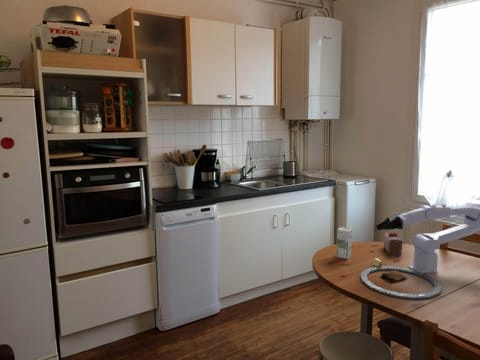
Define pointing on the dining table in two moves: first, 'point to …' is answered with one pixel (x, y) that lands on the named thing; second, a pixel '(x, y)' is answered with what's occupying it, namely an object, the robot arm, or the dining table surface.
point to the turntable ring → (379, 266)
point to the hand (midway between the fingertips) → (380, 227)
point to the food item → (393, 244)
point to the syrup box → (344, 243)
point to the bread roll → (393, 277)
